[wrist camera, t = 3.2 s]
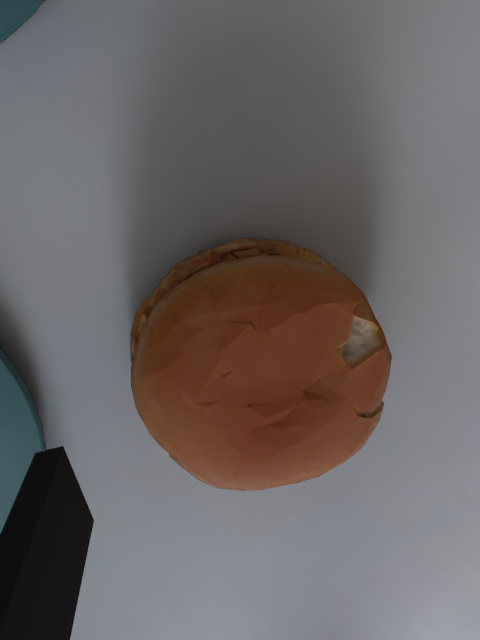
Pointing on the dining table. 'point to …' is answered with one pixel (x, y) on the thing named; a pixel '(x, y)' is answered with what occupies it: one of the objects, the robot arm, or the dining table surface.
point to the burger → (258, 365)
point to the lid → (15, 434)
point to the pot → (15, 15)
